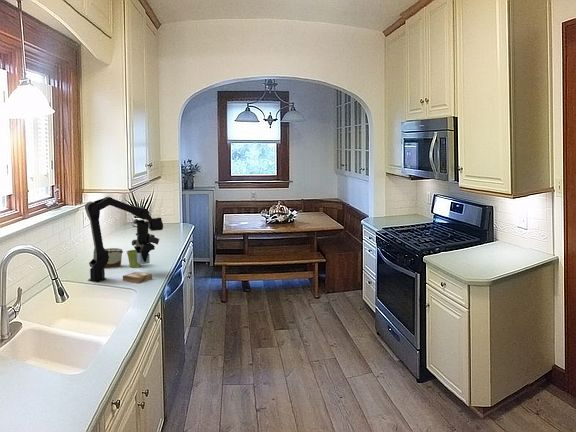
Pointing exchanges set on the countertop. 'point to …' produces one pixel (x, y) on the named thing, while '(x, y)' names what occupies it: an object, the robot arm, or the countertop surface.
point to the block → (140, 259)
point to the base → (137, 277)
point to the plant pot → (133, 258)
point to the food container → (114, 258)
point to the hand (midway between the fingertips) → (143, 260)
